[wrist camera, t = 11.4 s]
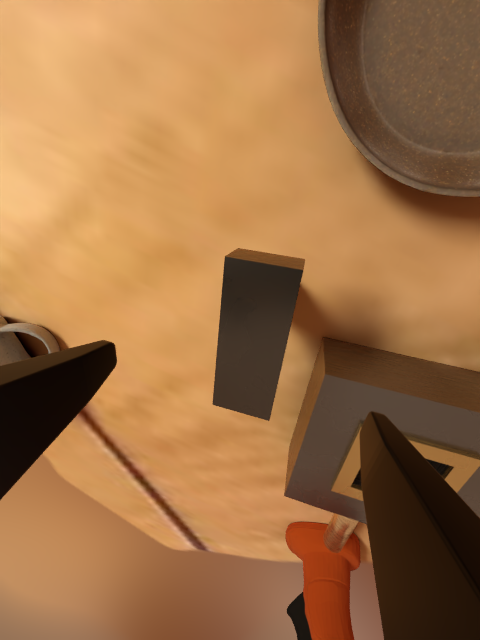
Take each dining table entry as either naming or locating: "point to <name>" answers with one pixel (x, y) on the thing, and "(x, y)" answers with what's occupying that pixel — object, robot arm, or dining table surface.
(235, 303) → the block
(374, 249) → the dining table surface
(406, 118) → the saucer
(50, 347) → the ceramic mug
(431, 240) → the dining table surface
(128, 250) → the dining table surface
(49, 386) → the robot arm
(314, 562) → the toy drill
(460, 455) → the block
